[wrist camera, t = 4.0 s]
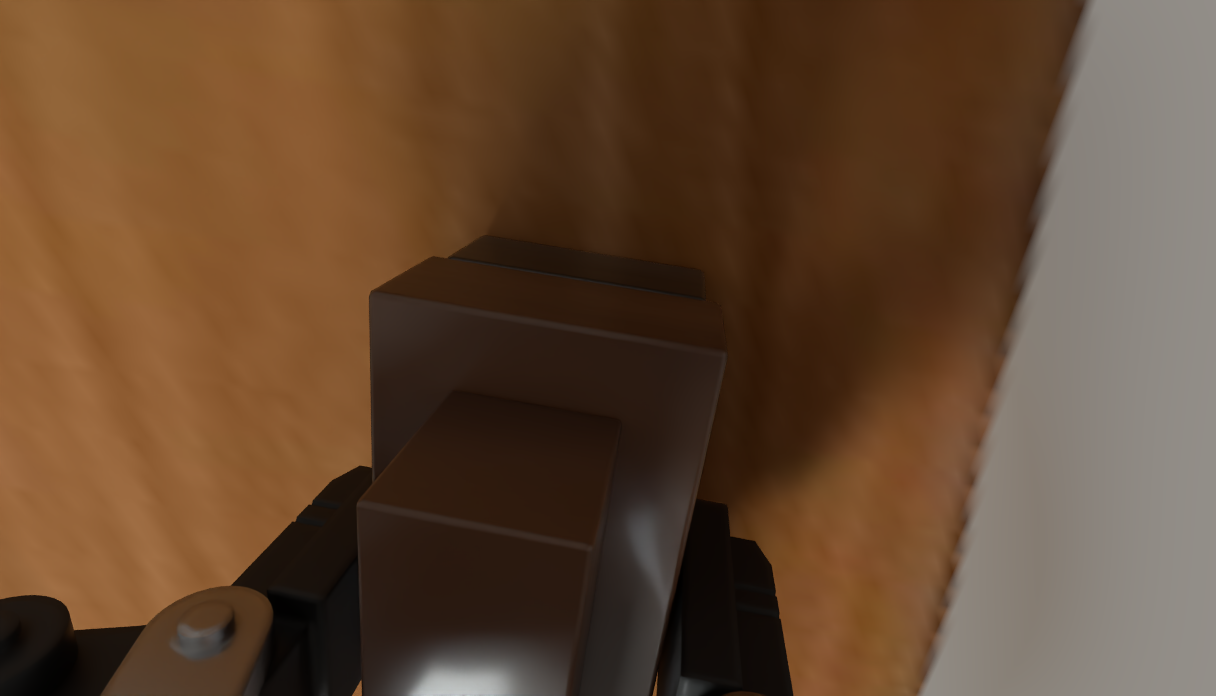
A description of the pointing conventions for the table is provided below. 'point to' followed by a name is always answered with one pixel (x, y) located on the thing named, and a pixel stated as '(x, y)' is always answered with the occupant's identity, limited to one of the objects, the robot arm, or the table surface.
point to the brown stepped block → (531, 469)
